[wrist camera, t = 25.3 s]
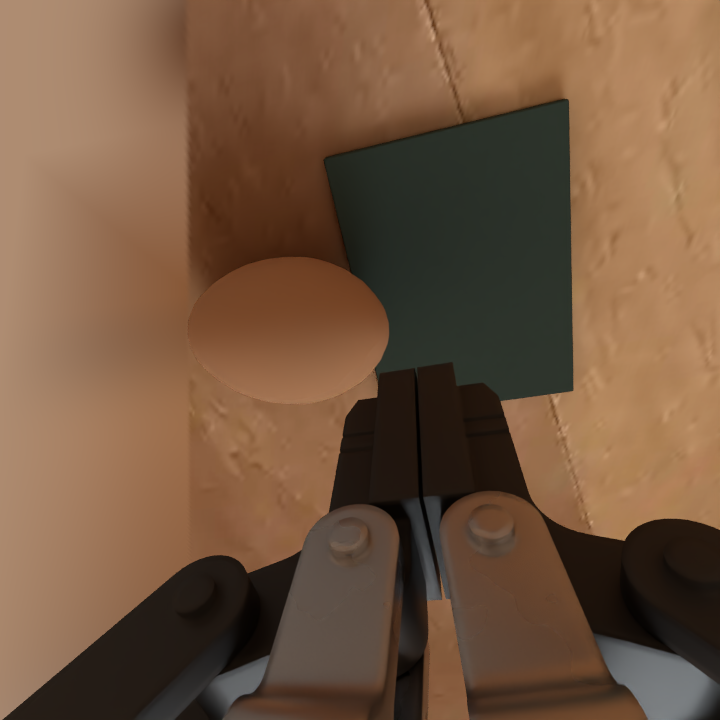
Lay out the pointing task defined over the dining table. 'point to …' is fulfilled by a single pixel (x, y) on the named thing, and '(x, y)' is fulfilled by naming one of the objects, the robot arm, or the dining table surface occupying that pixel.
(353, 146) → the dining table surface
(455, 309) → the mat
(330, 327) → the egg
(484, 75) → the dining table surface
